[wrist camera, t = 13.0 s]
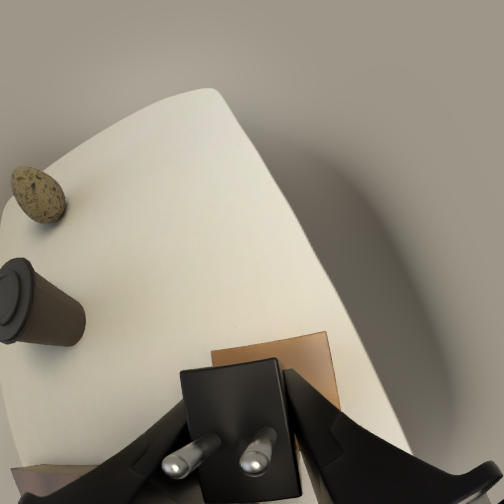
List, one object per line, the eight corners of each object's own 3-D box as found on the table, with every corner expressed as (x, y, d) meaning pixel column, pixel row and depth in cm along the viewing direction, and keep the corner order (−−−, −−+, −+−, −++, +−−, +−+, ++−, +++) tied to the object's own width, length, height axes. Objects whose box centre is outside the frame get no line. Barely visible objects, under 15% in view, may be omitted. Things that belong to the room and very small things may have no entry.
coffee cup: (53, 367, 24) (-16, 352, 15) (42, 303, 28) (-18, 274, 19) (103, 345, 25) (30, 324, 16) (87, 276, 28) (26, 236, 19)
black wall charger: (299, 445, 10) (306, 549, 3) (241, 454, 11) (165, 549, 3) (283, 364, 12) (268, 345, 4) (227, 373, 12) (123, 363, 5)
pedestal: (325, 415, 20) (345, 441, 11) (252, 428, 20) (227, 459, 12) (313, 347, 23) (326, 330, 14) (241, 360, 23) (210, 350, 14)
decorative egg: (44, 239, 32) (-5, 202, 23) (44, 208, 34) (2, 170, 25) (75, 218, 32) (27, 174, 23) (73, 187, 35) (32, 144, 25)
